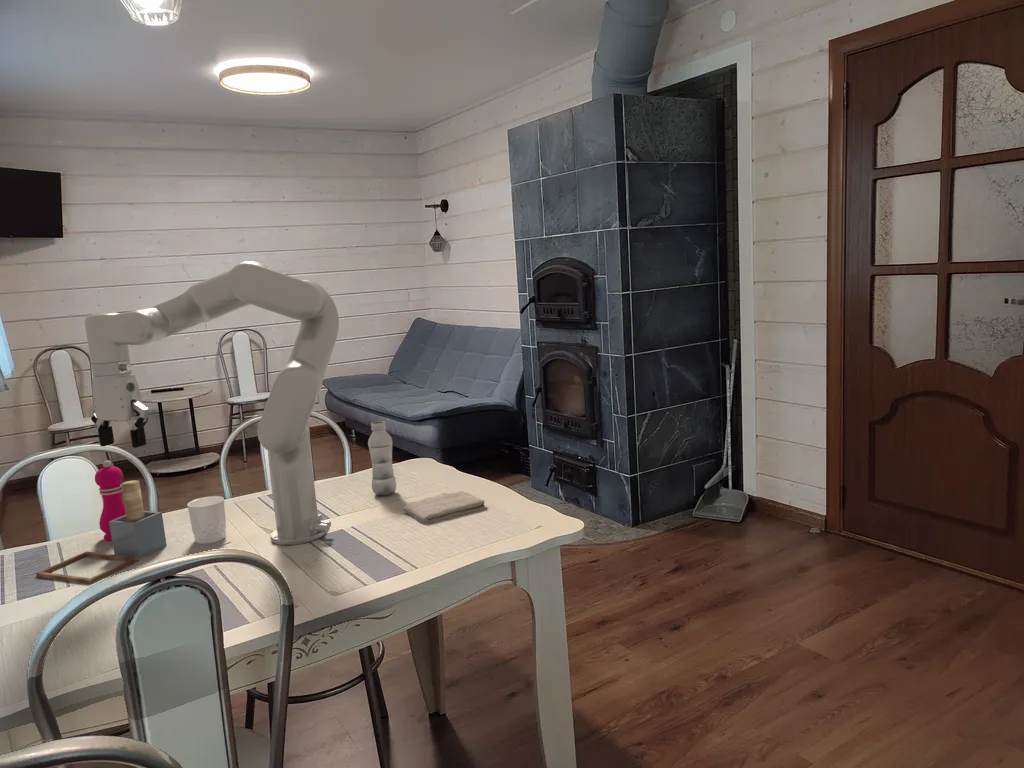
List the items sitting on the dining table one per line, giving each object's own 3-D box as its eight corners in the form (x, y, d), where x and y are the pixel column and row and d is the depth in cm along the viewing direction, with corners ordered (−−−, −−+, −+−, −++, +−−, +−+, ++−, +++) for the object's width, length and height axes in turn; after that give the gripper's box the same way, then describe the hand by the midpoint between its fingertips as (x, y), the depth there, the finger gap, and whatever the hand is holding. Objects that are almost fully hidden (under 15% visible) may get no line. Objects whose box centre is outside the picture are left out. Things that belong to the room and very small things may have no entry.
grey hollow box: (167, 549, 170) (161, 512, 169) (140, 562, 163) (133, 523, 162) (142, 546, 173) (137, 510, 172) (115, 559, 166) (108, 521, 165)
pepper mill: (128, 532, 184) (115, 455, 181) (141, 538, 180) (128, 458, 176) (97, 542, 179) (84, 462, 175) (110, 548, 174) (96, 466, 171)
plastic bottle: (376, 490, 205) (369, 420, 202) (400, 490, 204) (393, 419, 201) (369, 498, 199) (361, 425, 195) (393, 497, 198) (386, 424, 194)
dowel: (153, 547, 169) (142, 480, 167) (140, 554, 166) (129, 485, 163) (141, 546, 171) (131, 480, 168) (128, 552, 167) (117, 484, 165)
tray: (139, 565, 162) (138, 557, 162) (91, 588, 151) (89, 580, 151) (87, 558, 168) (86, 551, 168) (37, 581, 157) (35, 573, 157)
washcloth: (488, 509, 185) (487, 497, 184) (424, 527, 175) (423, 514, 174) (465, 498, 194) (464, 487, 194) (403, 515, 185) (401, 503, 184)
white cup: (185, 547, 171) (179, 505, 170) (210, 534, 178) (204, 495, 177) (212, 549, 168) (206, 507, 167) (236, 537, 176) (231, 496, 174)
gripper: (155, 366, 162) (166, 442, 164) (98, 367, 168) (109, 440, 171) (126, 372, 155) (138, 451, 158) (68, 372, 161) (80, 448, 164)
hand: (123, 445), depth 164 cm, fingers open, 9 cm apart
